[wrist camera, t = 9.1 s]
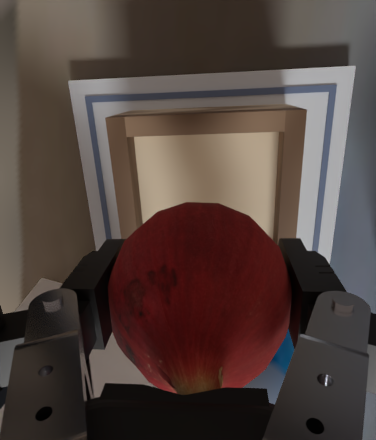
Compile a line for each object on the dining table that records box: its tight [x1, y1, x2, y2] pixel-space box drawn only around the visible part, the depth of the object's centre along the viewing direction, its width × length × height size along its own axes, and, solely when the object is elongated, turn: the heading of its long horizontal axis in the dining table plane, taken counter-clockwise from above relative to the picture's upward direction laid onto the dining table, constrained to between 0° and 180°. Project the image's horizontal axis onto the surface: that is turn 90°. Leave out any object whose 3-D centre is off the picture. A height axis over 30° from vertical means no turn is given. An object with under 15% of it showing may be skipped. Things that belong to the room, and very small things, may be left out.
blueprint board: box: [68, 66, 356, 264], centre depth 24 cm, size 18×14×1 cm
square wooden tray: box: [105, 104, 307, 245], centre depth 21 cm, size 10×10×6 cm
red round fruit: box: [107, 202, 292, 395], centre depth 11 cm, size 6×6×8 cm
